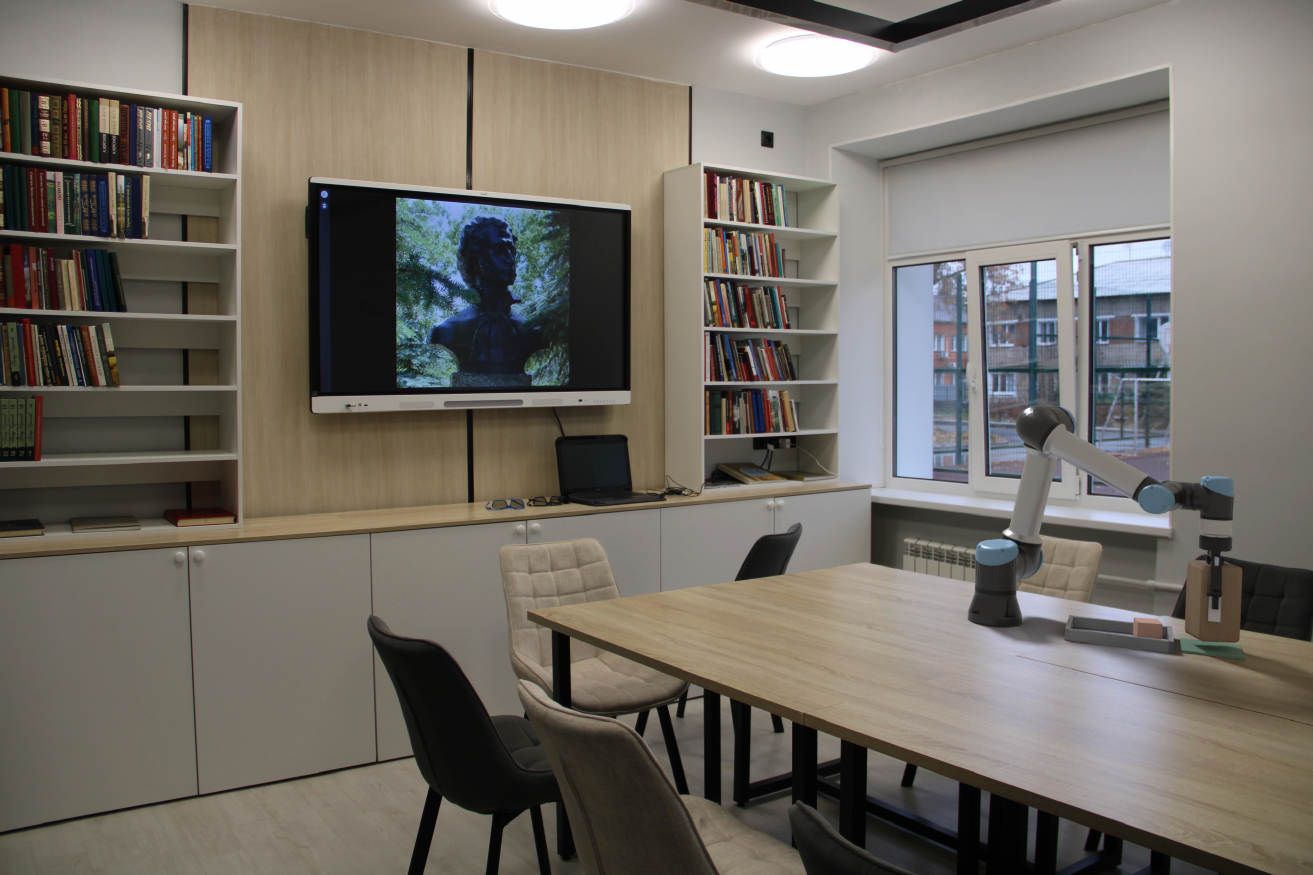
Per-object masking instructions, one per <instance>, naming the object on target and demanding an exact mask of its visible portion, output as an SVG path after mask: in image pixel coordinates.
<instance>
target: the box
mask: <svg viewBox="0 0 1313 875" xmlns="http://www.w3.org/2000/svg"><path fill="white" fill-rule="evenodd" d="M1133 622H1134V623H1133V634H1132V636H1137V637H1145V638H1154V639H1162V640H1163V637H1162V626H1164V625H1163V623H1162V622H1161V621H1160V620H1159V619H1158V618H1149V617H1134V616H1133Z"/></svg>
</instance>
